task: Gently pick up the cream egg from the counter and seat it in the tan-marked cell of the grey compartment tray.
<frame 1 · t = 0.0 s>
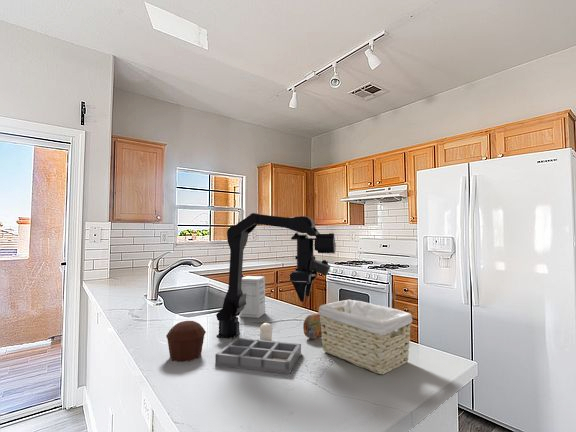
hand: (305, 298, 110), 15 cm above the counter, fingers open, 9 cm apart
storage basket: (363, 358, 96), on the counter
grey compartment tray: (260, 359, 95), on the counter
supplement box: (252, 315, 145), on the counter
tin: (319, 336, 116), on the counter
egg: (265, 341, 110), on the counter
muffin: (185, 356, 97), on the counter
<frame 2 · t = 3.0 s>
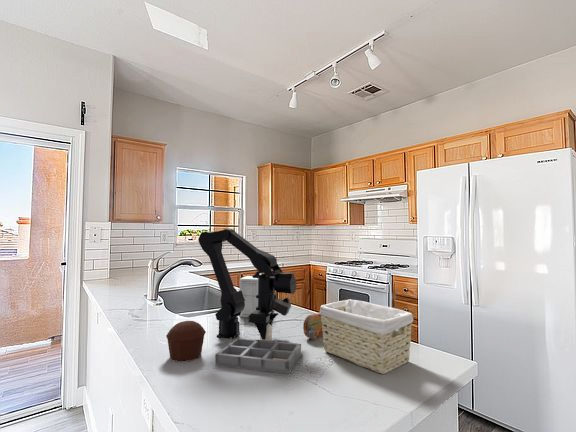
hand: (265, 337, 110), 1 cm above the counter, fingers closed on egg, 4 cm apart
egg: (265, 340, 110), on the counter, touching gripper
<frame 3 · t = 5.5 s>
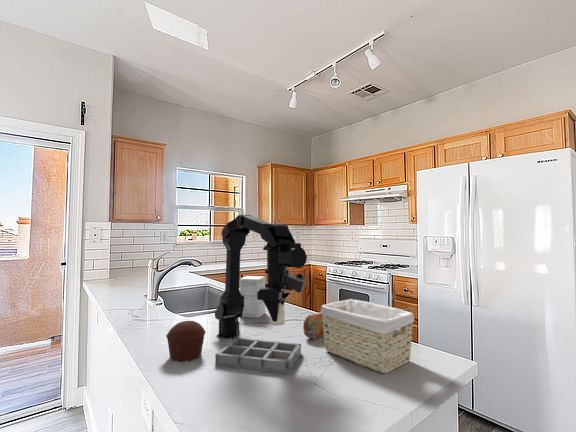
hand: (277, 319, 94), 12 cm above the counter, fingers closed on egg, 4 cm apart
egg: (277, 323, 94), point 11 cm above the counter, touching gripper
when the fingers open (4 cm above the counter, at t = 8.0 s): egg drops 1 cm, resting on grey compartment tray.
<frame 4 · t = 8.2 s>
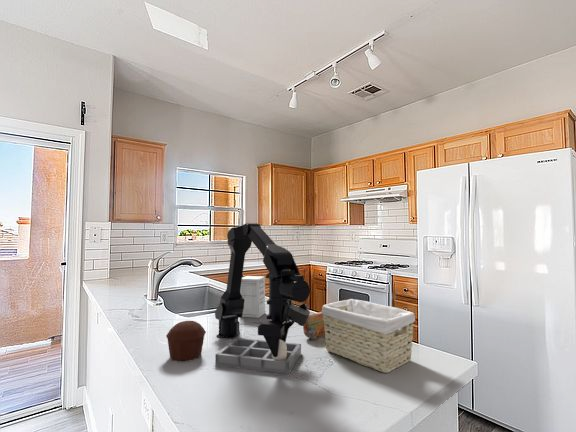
hand: (278, 352, 90), 4 cm above the counter, fingers open, 6 cm apart
egg: (279, 362, 90), point 1 cm above the counter, touching grey compartment tray
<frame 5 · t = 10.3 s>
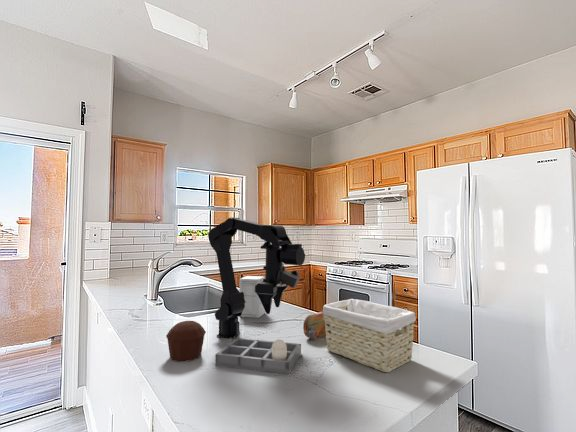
hand: (272, 310, 106), 12 cm above the counter, fingers open, 9 cm apart
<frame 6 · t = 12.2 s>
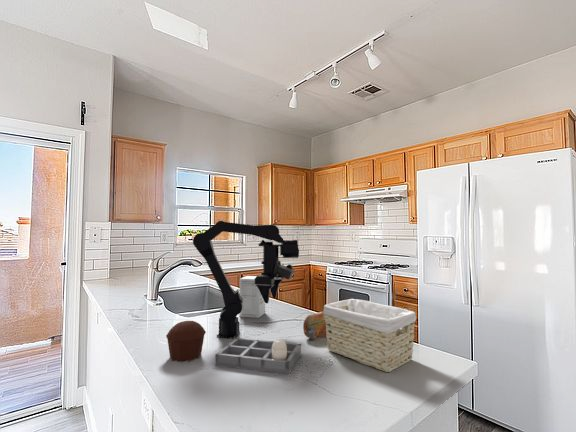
hand: (270, 300, 119), 12 cm above the counter, fingers open, 9 cm apart
at the end: egg 0.1 cm from the target spot on the grey compartment tray, point 1.2 cm above the grey compartment tray's base; egg tilted 0°; the gripper is holding nothing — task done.
